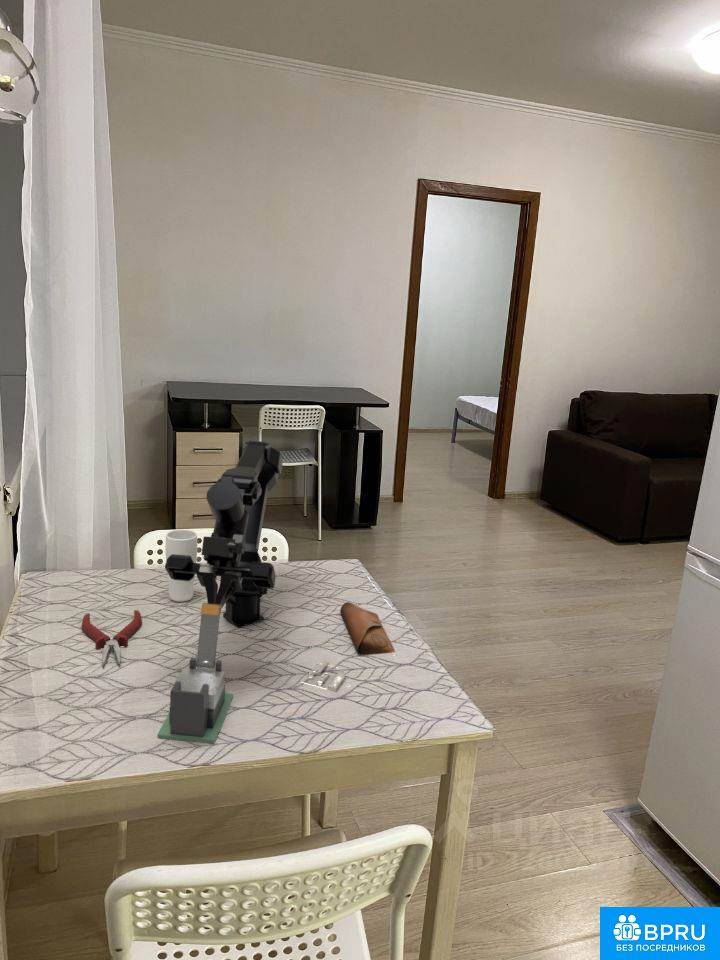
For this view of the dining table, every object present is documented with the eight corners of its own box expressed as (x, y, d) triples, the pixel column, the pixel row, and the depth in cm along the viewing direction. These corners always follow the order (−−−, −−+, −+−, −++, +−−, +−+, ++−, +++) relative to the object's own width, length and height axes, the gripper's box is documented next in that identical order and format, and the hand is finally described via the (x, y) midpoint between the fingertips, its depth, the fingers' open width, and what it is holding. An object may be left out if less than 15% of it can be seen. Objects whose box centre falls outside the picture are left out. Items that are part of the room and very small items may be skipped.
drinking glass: (182, 588, 164) (183, 526, 159) (203, 597, 160) (204, 534, 156) (158, 597, 158) (158, 534, 154) (179, 607, 154) (179, 542, 150)
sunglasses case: (398, 653, 142) (384, 627, 140) (367, 670, 142) (353, 645, 139) (376, 612, 159) (363, 589, 157) (348, 628, 158) (335, 605, 156)
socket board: (182, 691, 124) (182, 649, 121) (233, 696, 123) (234, 654, 121) (157, 737, 111) (157, 691, 109) (214, 743, 111) (215, 697, 109)
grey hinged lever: (197, 665, 121) (204, 602, 122) (215, 667, 121) (221, 604, 122) (195, 667, 119) (201, 603, 120) (212, 669, 119) (219, 605, 120)
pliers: (77, 674, 127) (77, 661, 127) (82, 622, 146) (82, 611, 145) (144, 668, 131) (144, 655, 130) (141, 618, 149) (141, 607, 149)
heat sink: (184, 696, 121) (184, 666, 120) (224, 700, 121) (225, 670, 120) (169, 724, 114) (169, 692, 112) (212, 728, 113) (213, 697, 112)
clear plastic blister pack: (335, 695, 127) (336, 687, 127) (300, 685, 130) (300, 678, 129) (351, 673, 135) (351, 666, 134) (317, 665, 137) (318, 658, 136)
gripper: (168, 510, 123) (146, 596, 115) (275, 520, 122) (261, 606, 115) (181, 538, 133) (162, 618, 125) (281, 547, 132) (267, 628, 124)
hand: (212, 617), depth 122 cm, fingers closed
